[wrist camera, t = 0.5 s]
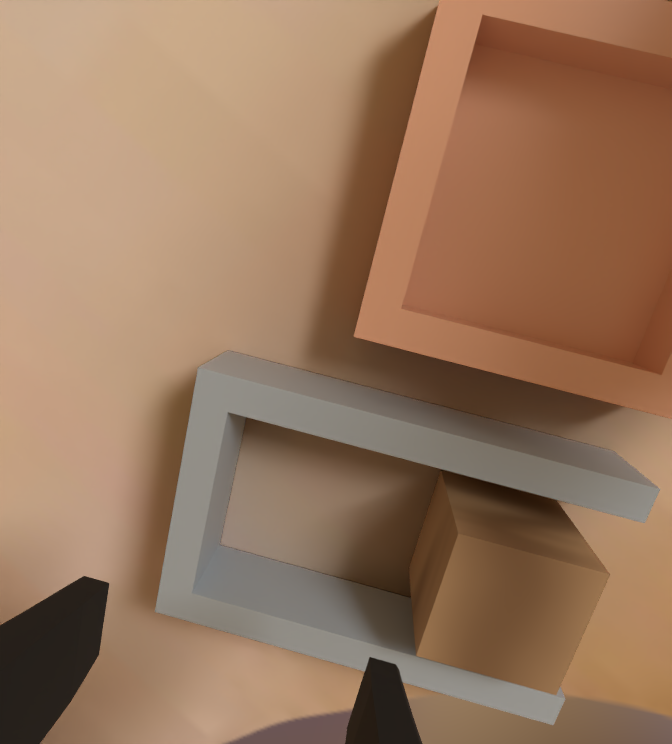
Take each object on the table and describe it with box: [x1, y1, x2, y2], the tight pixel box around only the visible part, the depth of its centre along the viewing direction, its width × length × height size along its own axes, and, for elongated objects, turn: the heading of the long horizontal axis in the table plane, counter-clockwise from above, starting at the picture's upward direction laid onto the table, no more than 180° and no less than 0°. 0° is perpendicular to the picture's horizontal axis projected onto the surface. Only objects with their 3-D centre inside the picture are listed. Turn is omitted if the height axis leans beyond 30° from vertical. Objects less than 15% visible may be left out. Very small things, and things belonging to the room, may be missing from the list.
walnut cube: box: [409, 470, 610, 695], centre depth 17 cm, size 4×4×4 cm
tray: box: [353, 0, 672, 419], centre depth 15 cm, size 10×10×2 cm
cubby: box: [155, 350, 660, 725], centre depth 17 cm, size 15×9×3 cm, turn 77°
